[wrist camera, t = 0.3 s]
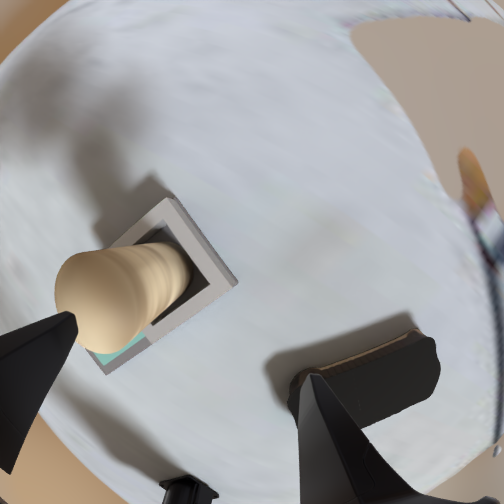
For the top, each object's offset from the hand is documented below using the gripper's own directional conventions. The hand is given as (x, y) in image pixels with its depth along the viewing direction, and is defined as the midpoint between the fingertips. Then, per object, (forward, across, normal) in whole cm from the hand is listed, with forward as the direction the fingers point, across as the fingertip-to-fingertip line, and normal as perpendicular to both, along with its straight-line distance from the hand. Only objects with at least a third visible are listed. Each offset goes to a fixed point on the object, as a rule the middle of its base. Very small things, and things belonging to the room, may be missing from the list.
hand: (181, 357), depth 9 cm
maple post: (+14, +5, +5) cm, 15 cm away
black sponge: (+12, -16, +13) cm, 24 cm away
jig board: (+13, +8, +8) cm, 18 cm away
